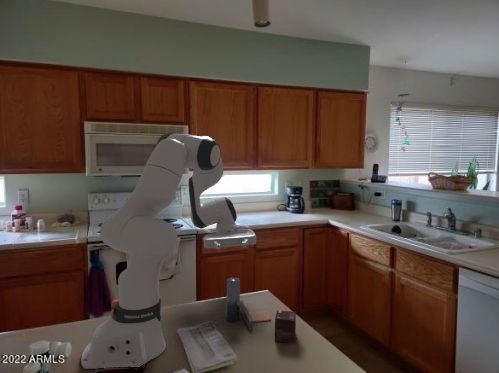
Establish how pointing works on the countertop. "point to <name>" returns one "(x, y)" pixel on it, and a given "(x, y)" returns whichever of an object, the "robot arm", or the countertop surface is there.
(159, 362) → the countertop surface
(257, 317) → the coaster
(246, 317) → the wall
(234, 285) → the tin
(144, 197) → the robot arm
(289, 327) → the box
